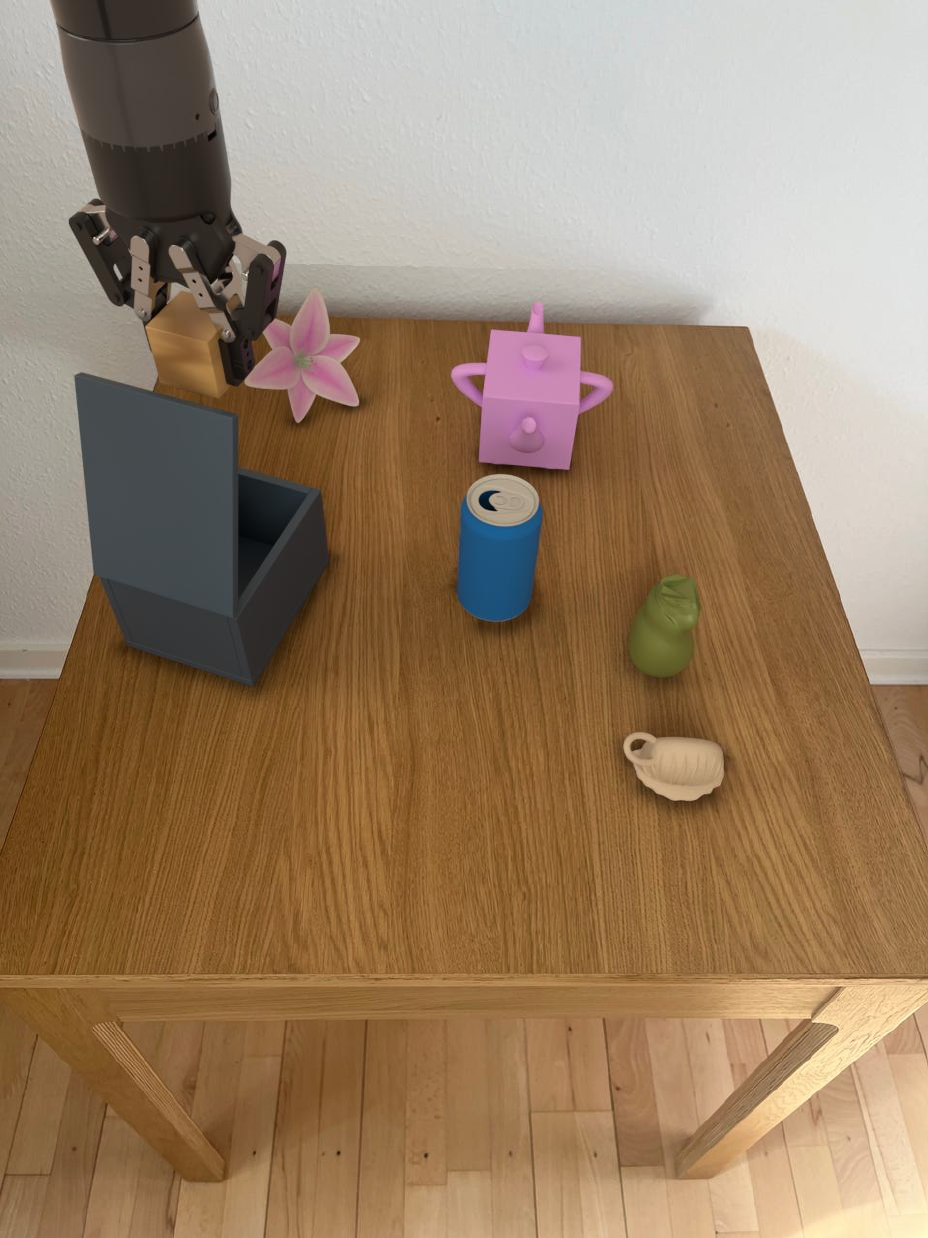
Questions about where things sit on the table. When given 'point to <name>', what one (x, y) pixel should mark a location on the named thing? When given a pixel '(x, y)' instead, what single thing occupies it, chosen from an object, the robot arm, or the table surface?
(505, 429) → the teapot
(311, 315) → the lily
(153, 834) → the table surface
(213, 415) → the lid
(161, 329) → the block
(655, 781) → the decorative ornament
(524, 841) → the table surface
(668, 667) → the olive green lumpy piece
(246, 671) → the chest
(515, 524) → the beverage can
